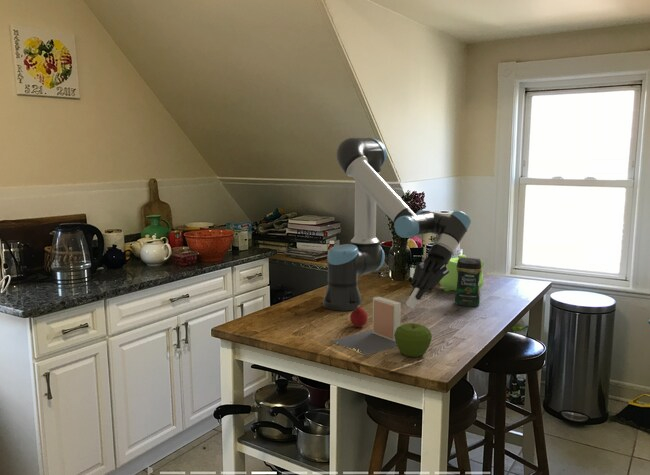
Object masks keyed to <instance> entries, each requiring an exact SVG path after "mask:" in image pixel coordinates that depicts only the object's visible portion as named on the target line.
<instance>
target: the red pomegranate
mask: <svg viewBox="0 0 650 475" xmlns="http://www.w3.org/2000/svg"><path fill="white" fill-rule="evenodd" d="M349 320H350V322H351V324H352V325H353V326H354V327H355V328H362V327H363V326H364V325H366V324H367V322H368V313H367V312H366V311H365V310H364V309H363V308H362V306H360V305H359V306H358V307H357V308H356V309H354V310H352V311H351V313H350V318H349Z"/></svg>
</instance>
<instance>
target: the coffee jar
mask: <svg viewBox="0 0 650 475" xmlns="http://www.w3.org/2000/svg"><path fill="white" fill-rule="evenodd" d="M481 261H482V260H481V258H474V257H466V258H459V259H458V262H457V267H456V269H457V272H458V280H457V288H456V291H455V294H454V303H455V304H456V305H458V306H463V307H465V306H466V307H477V306H479V305H480V303H481V302H480V301H481V297H480V296H481V292H480V291H481V289H479V278H480V273H481V270H482V271H483V267H481Z"/></svg>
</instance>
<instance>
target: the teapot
mask: <svg viewBox="0 0 650 475" xmlns="http://www.w3.org/2000/svg"><path fill="white" fill-rule="evenodd" d="M459 258H467V255H465V254H458V255H457V257H451V259H450V261H449V262H448V264H447V265H446V268H447V269H448V270H449V273H448V274H446V275H445V276H444V277H443V278H442V279H441V280H440V281H439V285H440V286H441V287H443V288H444V289H443V292H449V293H450V292H452V291H455V292H456V288H457V280H458V272H457V269H456V267H457V262H458V259H459ZM484 265H485V262H484V261H482V260H481V267H482V268H483V267H484ZM483 285H484V274H483V269H482V270H481V273H480V278H479V290H481V289H482V287H483Z"/></svg>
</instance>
